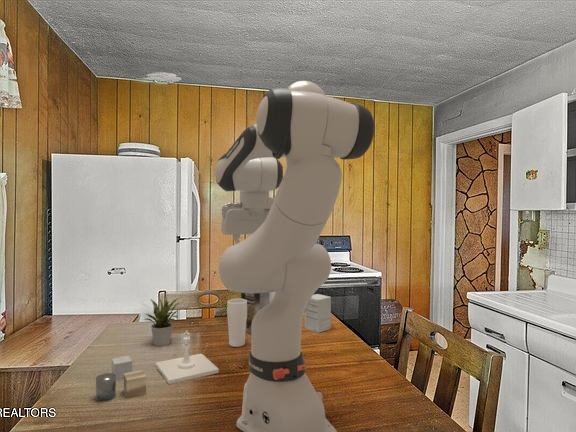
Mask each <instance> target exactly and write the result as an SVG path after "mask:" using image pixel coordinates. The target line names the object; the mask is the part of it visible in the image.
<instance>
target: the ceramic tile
mask: <svg viewBox="0 0 576 432" xmlns="http://www.w3.org/2000/svg"><path fill="white" fill-rule="evenodd" d="M189 358H190V359H191V360H193V361H195V366H194V367H193V368H189V369H180V368H178V363H179V362H180V361H182V360H183V359H184V356H183V357H176V358H172V359H167V360H162V361H157V362H155V367H156V369H157V370H158V371H159V373H160V374H161V376H162V378H164V380H165V381H166V383H167V384H168V385H173V384H176V383H179V382H184V381H189V380H193V379H197V378H198V379H199V378H202V377H206V376H207V377H208V376H211V375H215V374H219V372H220V370H219V368H218V367H217V366H216V365H215V364H214V363H213V362H212V361H211V360H210V359H209V358H208V357H206V356H205V355H204V354H203V353H196V354H192V355H189Z"/></svg>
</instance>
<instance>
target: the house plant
mask: <svg viewBox="0 0 576 432" xmlns="http://www.w3.org/2000/svg"><path fill="white" fill-rule="evenodd" d="M181 298H183V297H182V296H181V297H177V298H175V299H174V300H172V301H168V297H167V296H165V297H164V301H162V299H161V298H160V297H159V296H157V299H158V300H159V302H160V308H159V305H158V304H157V302H156V301H154V300H153V299H151V298H150V302H152V306H153V314H154V316H153V315H152V314H149V313H145V316H147V317H149V318H144V319H143V320H145V321H146V320H147V321H150V322H152V323H153V324H152V325H150V329H151V334H152V340H153V341H152V342H153V345H154V346H156V347H163V346H168V345H169V344H170V343H171V337H172V333H173V327H174V326H173V325H174V324H173V323H172V322H170V321H175V320H176V319H175V318H177V319H178V315H177V312H179V311H180V309H178V310H175V311H174V309H175V308H176V307H177V306H178V305H179V304H183V303H184V302H182V301H178V302H177V300H179V299H181ZM170 302H171V303H170ZM175 302H177V303H175ZM142 305H144V306H145V303H142ZM146 307H147V308H149V307H148V305H146ZM173 311H174V312H173ZM175 322H176V321H175Z"/></svg>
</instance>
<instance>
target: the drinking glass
mask: <svg viewBox="0 0 576 432" xmlns="http://www.w3.org/2000/svg"><path fill="white" fill-rule="evenodd" d="M226 303H227V305H226V306H227V307H226V314H227V326H228V328H227V329H228V344H229V346H231V347H235V348H240V347H243V346H244V345H245V344H246V333H247V332H246V321H247V300H245V299H241V298H230V299H228V300H227V302H226Z"/></svg>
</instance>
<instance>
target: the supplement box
mask: <svg viewBox="0 0 576 432" xmlns="http://www.w3.org/2000/svg"><path fill="white" fill-rule="evenodd" d="M331 328H332V297H331V296H328V295H324V294H320V293H316V294H315V293H314V294H313V296H312V297H311V299H310V301H309V302H308V304H307V307H306V309H305V312H304V329H305V330H308V331H311V332H314V333H317V334H319V333H323V332H325V331H328V330H331Z"/></svg>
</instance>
